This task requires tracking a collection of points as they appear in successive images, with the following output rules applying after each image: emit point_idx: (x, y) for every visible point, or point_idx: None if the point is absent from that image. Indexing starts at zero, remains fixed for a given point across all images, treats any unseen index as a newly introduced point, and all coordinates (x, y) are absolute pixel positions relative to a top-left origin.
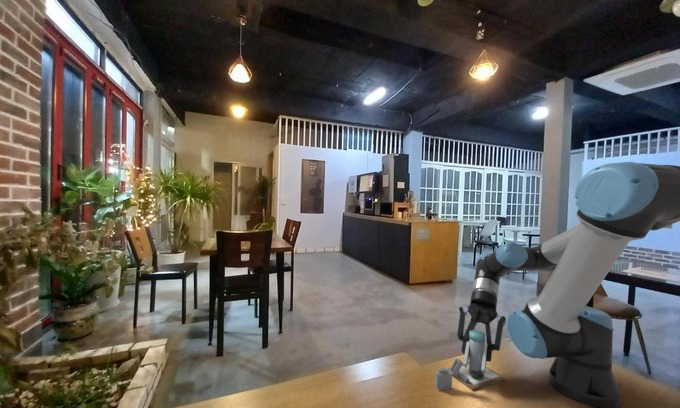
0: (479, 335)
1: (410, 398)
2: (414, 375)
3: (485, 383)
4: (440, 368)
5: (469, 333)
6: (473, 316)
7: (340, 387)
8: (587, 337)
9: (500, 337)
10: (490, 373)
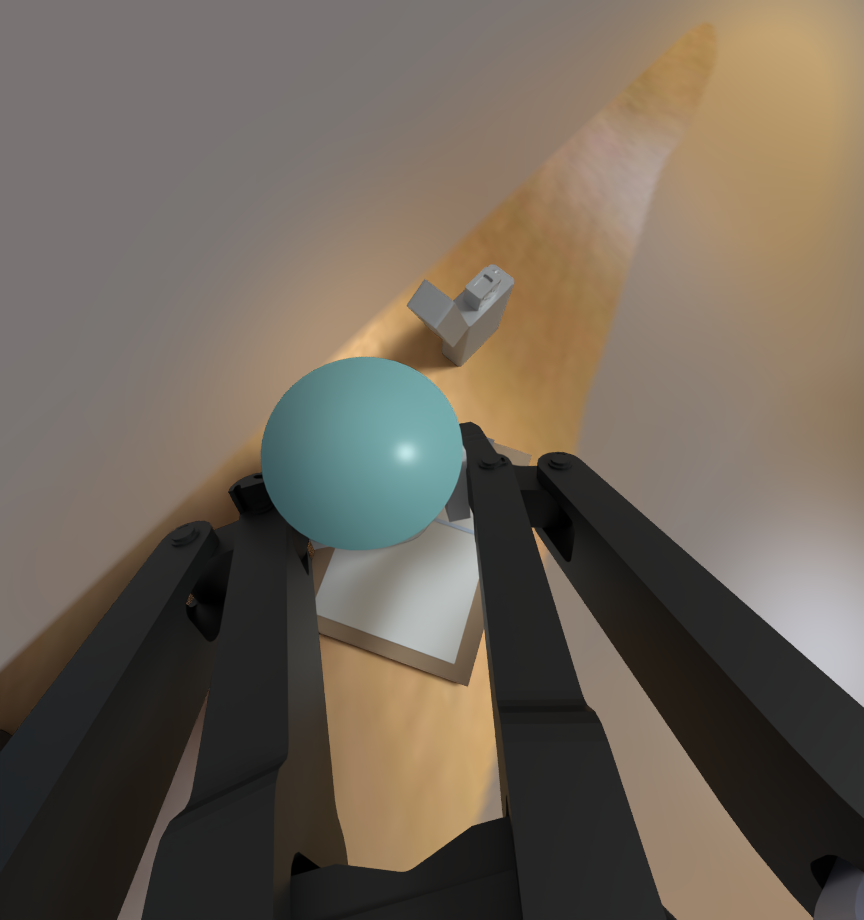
0: (318, 407)
1: (515, 215)
2: (592, 330)
3: None
4: (497, 275)
5: (442, 398)
6: (590, 830)
7: (688, 119)
8: None
9: (93, 639)
10: (354, 600)
